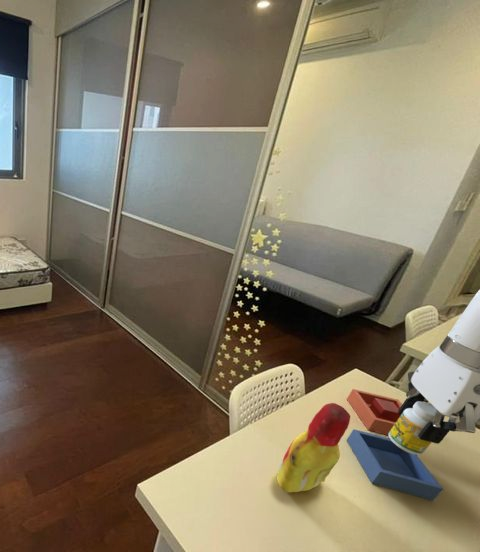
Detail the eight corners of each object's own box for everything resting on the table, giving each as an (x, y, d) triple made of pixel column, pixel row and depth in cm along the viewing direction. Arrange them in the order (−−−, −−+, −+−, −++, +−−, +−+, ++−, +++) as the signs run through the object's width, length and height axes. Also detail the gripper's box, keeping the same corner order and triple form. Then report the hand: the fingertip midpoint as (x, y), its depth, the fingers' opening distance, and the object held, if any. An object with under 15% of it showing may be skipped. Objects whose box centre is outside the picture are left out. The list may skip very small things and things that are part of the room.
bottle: (289, 506, 59) (336, 429, 50) (260, 474, 64) (298, 400, 56) (330, 486, 63) (379, 412, 55) (299, 457, 68) (340, 386, 60)
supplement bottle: (426, 460, 62) (455, 425, 58) (392, 447, 64) (417, 412, 60) (415, 439, 66) (441, 406, 62) (383, 428, 68) (406, 394, 65)
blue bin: (399, 453, 72) (407, 442, 70) (433, 500, 63) (443, 489, 61) (346, 439, 74) (353, 428, 73) (371, 483, 65) (380, 471, 63)
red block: (385, 413, 82) (393, 402, 81) (394, 425, 79) (403, 414, 77) (367, 409, 83) (375, 397, 81) (376, 421, 80) (384, 409, 78)
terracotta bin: (391, 409, 85) (398, 399, 83) (418, 443, 75) (427, 432, 74) (346, 398, 87) (352, 388, 85) (367, 430, 77) (375, 419, 76)
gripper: (550, 394, 47) (476, 473, 55) (458, 332, 63) (410, 401, 70) (489, 381, 49) (424, 459, 56) (414, 324, 64) (371, 392, 72)
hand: (417, 426), depth 63 cm, fingers closed on supplement bottle, 5 cm apart
